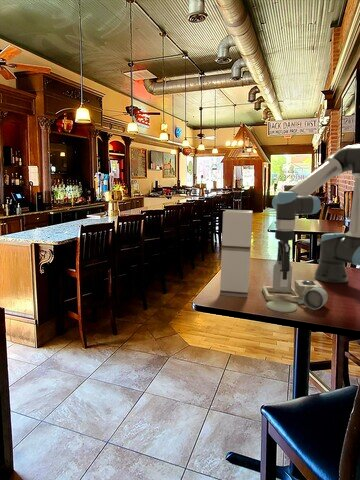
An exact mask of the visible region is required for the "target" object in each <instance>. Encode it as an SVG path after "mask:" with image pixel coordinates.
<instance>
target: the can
mask: <svg viewBox="0 0 360 480" xmlns="http://www.w3.org/2000/svg"><path fill="white" fill-rule="evenodd" d="M280 270H282V261H277V260H276V261H275V264H273V270H272V272H273V273H272V287H273V289H274V290H275V291H278V292H277V293H286V292H288V291H289V290H291V288H292V277H293V266H292V263H291V262H290V271H288V283H287V287H280V280H281V272H280Z"/></svg>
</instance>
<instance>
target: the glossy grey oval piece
mask: <svg viewBox="0 0 360 480" xmlns="http://www.w3.org/2000/svg"><path fill="white" fill-rule="evenodd" d="M314 281H315V280H310V279H304V281H303V285H314Z"/></svg>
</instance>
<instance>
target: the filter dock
mask: <svg viewBox="0 0 360 480" xmlns="http://www.w3.org/2000/svg"><path fill="white" fill-rule="evenodd" d="M304 280H305V279H304ZM304 280H302V279H301V280H300V279H295V280H294V287H291V290H289V291H288V292H285V293H286V294H287V293H288V294H291V295H285V294H284V295H279V294H277V295H276V294H270V293H269V292H271V293H279V292H278V291H275V290H274V289H273V286H267V285H266V286H265V285H264V286H263V285H262V287H261V288H262V289H261V291H262V293H263V295H264V299H265V301H268V302H269V301H275V300H280V301H287V302H291V303H292V302H293V303H294V302H295V303H298V301H297V300H298V299H301V298H303V296H304V294H305V292H307V291H308V290H310V289H312V288H315V287H320V288H323V289H324V287H323V285H321V284H320V283H319V282H318V280H313V281H314V285H303V281H304Z"/></svg>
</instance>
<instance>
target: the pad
mask: <svg viewBox="0 0 360 480" xmlns="http://www.w3.org/2000/svg"><path fill="white" fill-rule="evenodd" d="M266 307H267V308H268V309H270V310H271V311H275V312H280V313H293V312H296V311H297V305H296V303H294V302H293V303H292V302H290V301H280V300H275V301H269V300H268V302H267V303H266Z"/></svg>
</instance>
